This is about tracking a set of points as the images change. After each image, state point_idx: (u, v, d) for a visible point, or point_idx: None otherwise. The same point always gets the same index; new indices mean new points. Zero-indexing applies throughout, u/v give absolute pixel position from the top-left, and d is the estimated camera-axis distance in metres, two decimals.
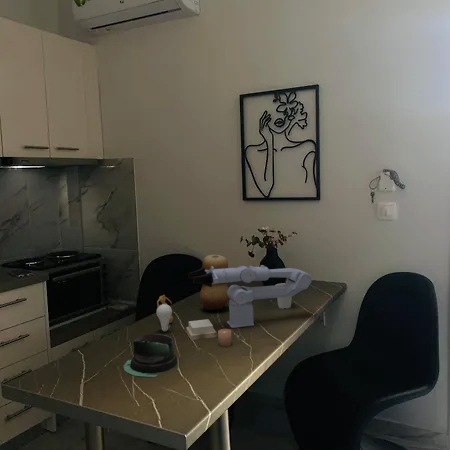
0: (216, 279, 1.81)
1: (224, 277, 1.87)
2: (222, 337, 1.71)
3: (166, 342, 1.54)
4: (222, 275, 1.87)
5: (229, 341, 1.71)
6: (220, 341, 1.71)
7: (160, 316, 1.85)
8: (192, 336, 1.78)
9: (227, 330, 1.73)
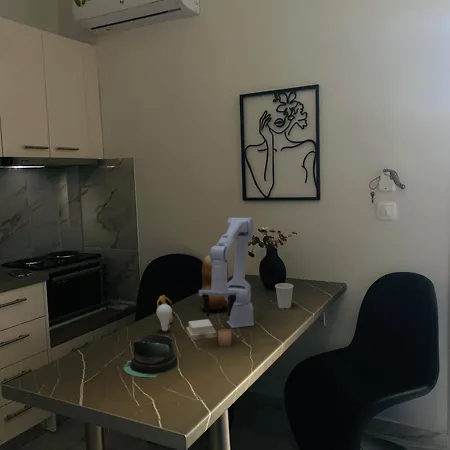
0: (238, 293, 1.73)
1: None
2: (222, 337, 1.71)
3: (166, 342, 1.54)
4: (226, 282, 1.72)
5: (229, 341, 1.71)
6: (220, 341, 1.71)
7: (160, 316, 1.85)
8: (192, 336, 1.78)
9: (227, 330, 1.73)
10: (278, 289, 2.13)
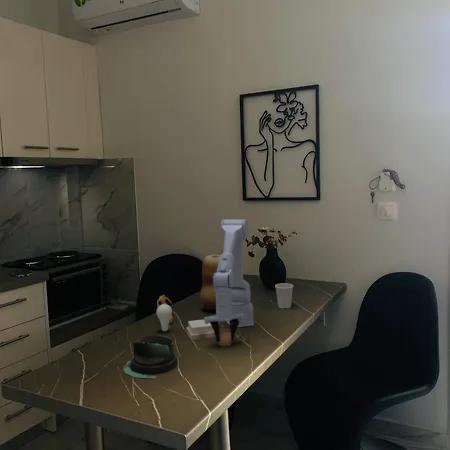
0: None
1: None
2: (222, 337, 1.71)
3: (166, 343, 1.53)
4: (231, 307, 1.71)
5: (229, 341, 1.71)
6: (220, 341, 1.71)
7: (160, 316, 1.85)
8: (192, 336, 1.78)
9: (227, 330, 1.73)
10: (278, 289, 2.13)
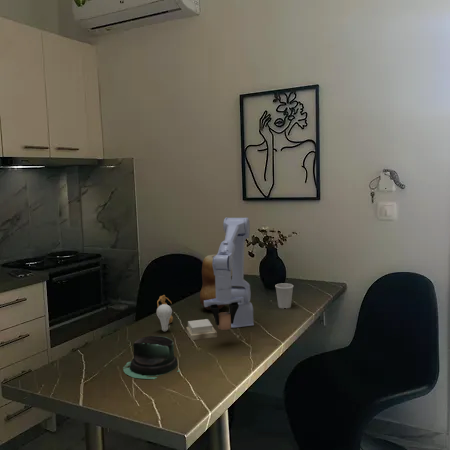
0: None
1: None
2: (222, 320, 1.70)
3: (166, 343, 1.53)
4: (231, 290, 1.71)
5: (229, 324, 1.71)
6: (220, 324, 1.71)
7: (160, 316, 1.85)
8: (192, 336, 1.78)
9: (227, 313, 1.72)
10: (278, 289, 2.13)
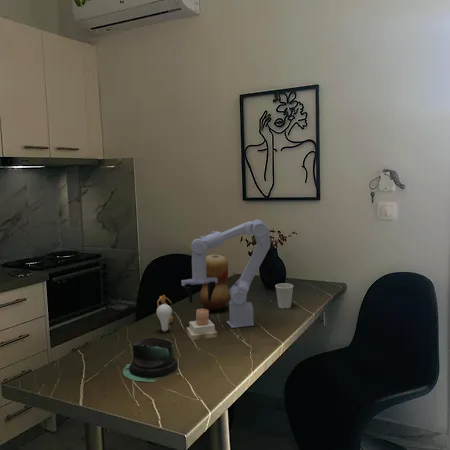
0: None
1: None
2: (200, 316, 1.81)
3: (166, 346, 1.51)
4: None
5: (206, 320, 1.82)
6: (198, 320, 1.82)
7: (160, 316, 1.85)
8: (192, 336, 1.78)
9: (205, 310, 1.83)
10: (278, 289, 2.13)
